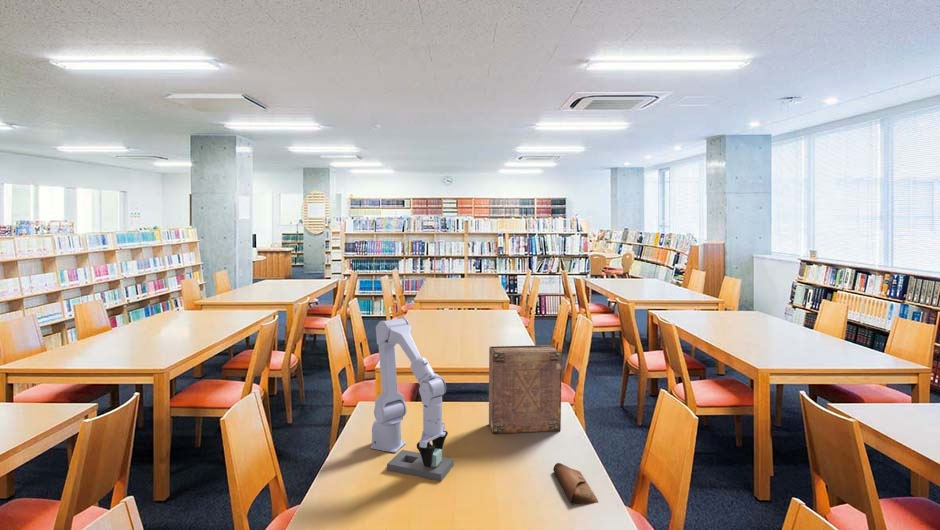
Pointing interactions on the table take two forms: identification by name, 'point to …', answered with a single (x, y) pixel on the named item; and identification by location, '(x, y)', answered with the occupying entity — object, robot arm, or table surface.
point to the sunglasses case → (574, 485)
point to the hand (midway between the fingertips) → (432, 460)
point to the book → (524, 389)
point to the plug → (436, 457)
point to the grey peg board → (419, 466)
